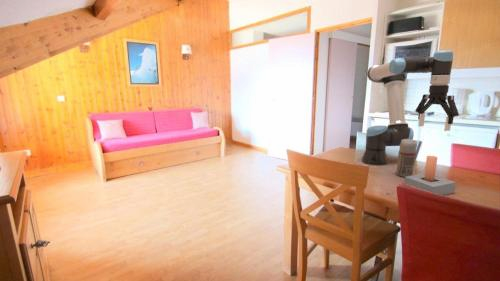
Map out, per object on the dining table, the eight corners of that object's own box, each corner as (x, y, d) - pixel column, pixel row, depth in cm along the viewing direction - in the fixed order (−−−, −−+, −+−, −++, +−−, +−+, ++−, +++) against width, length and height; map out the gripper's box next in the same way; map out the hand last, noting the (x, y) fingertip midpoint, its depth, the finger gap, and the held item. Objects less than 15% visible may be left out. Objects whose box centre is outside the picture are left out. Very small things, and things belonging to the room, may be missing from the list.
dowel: (421, 188, 123) (424, 156, 120) (427, 187, 124) (430, 155, 121) (429, 191, 119) (433, 158, 116) (435, 190, 120) (439, 157, 117)
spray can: (413, 174, 143) (417, 138, 139) (413, 178, 136) (417, 141, 132) (396, 171, 147) (399, 137, 143) (395, 176, 140) (398, 140, 136)
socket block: (404, 186, 126) (405, 176, 125) (425, 182, 130) (426, 173, 129) (431, 197, 113) (433, 186, 112) (454, 192, 117) (455, 182, 116)
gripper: (410, 84, 134) (406, 125, 138) (461, 85, 110) (453, 133, 115) (421, 84, 136) (416, 123, 140) (473, 84, 112) (465, 132, 117)
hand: (433, 128), depth 128 cm, fingers open, 13 cm apart
